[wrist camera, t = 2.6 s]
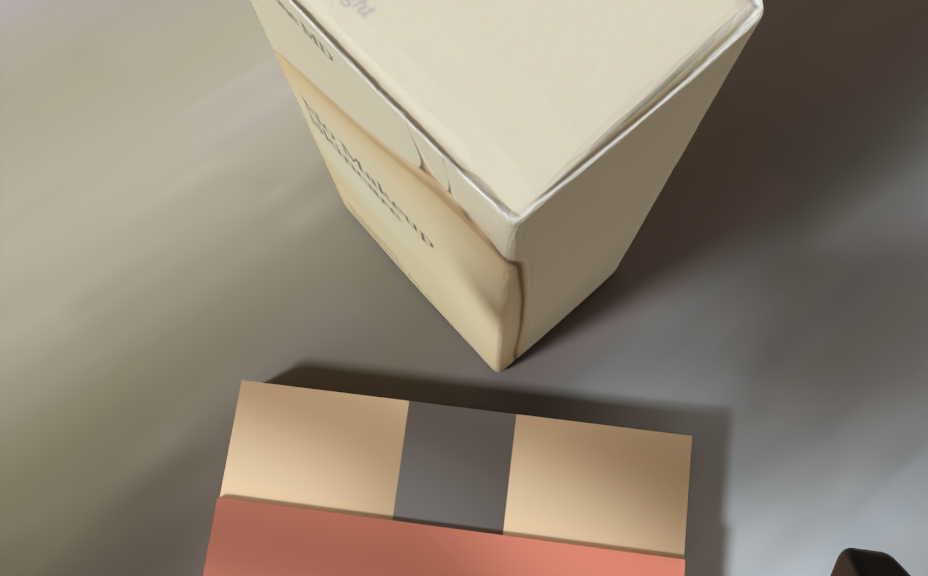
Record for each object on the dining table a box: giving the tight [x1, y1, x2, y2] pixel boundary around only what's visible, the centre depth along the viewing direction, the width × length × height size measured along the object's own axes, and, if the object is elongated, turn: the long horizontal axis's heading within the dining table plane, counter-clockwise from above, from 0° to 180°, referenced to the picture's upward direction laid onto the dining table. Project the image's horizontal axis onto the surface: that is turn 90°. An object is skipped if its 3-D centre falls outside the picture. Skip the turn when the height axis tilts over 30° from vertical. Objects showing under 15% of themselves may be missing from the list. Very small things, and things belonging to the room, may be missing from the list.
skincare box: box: [251, 0, 764, 372], centre depth 17 cm, size 6×4×12 cm
